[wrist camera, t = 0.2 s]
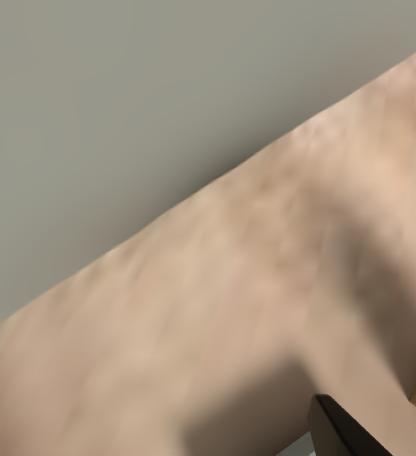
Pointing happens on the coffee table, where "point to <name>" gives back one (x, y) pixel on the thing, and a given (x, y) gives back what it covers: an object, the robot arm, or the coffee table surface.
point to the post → (413, 397)
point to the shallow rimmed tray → (300, 447)
